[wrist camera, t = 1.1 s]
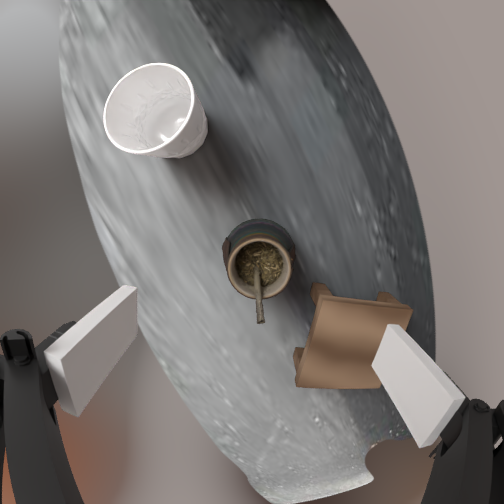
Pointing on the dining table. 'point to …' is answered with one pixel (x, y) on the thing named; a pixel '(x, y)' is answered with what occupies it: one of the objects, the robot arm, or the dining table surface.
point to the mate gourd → (259, 260)
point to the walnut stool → (346, 340)
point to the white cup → (155, 113)
